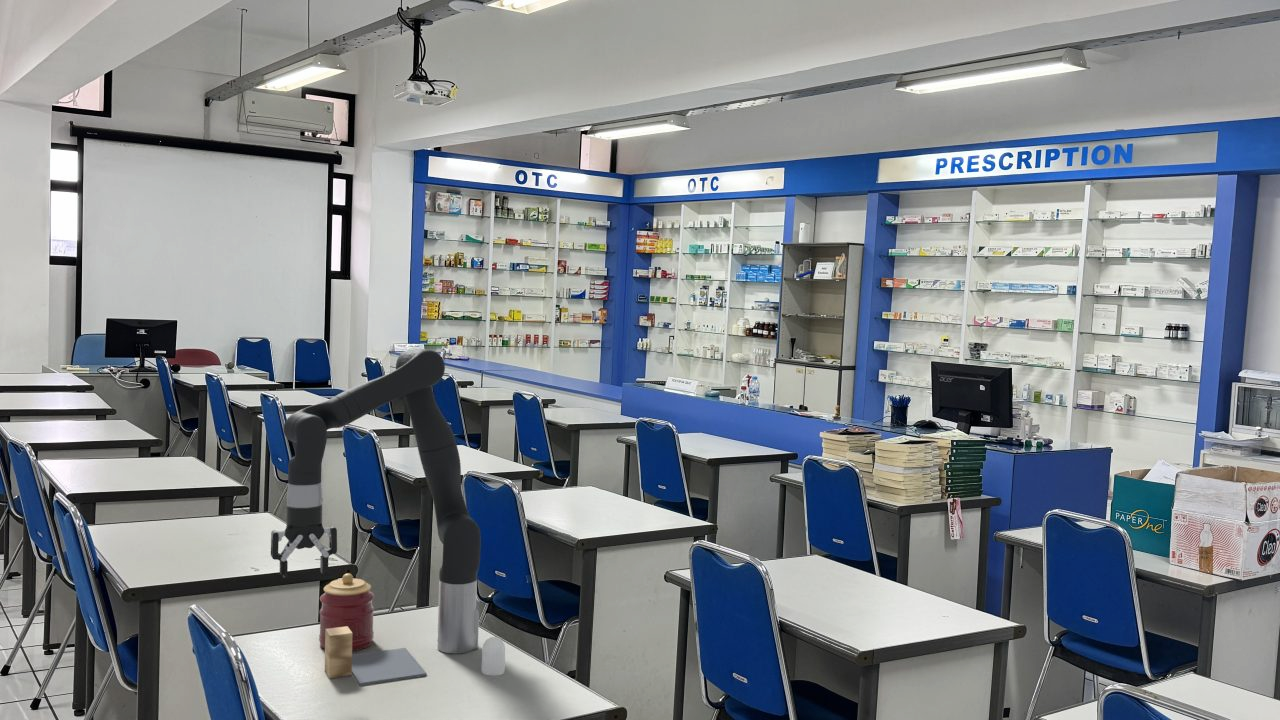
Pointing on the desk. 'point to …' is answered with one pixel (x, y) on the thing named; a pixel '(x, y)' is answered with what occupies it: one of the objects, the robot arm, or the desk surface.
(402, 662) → the mat
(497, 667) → the white domed cylinder
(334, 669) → the oak block
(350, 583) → the canister
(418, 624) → the desk surface
